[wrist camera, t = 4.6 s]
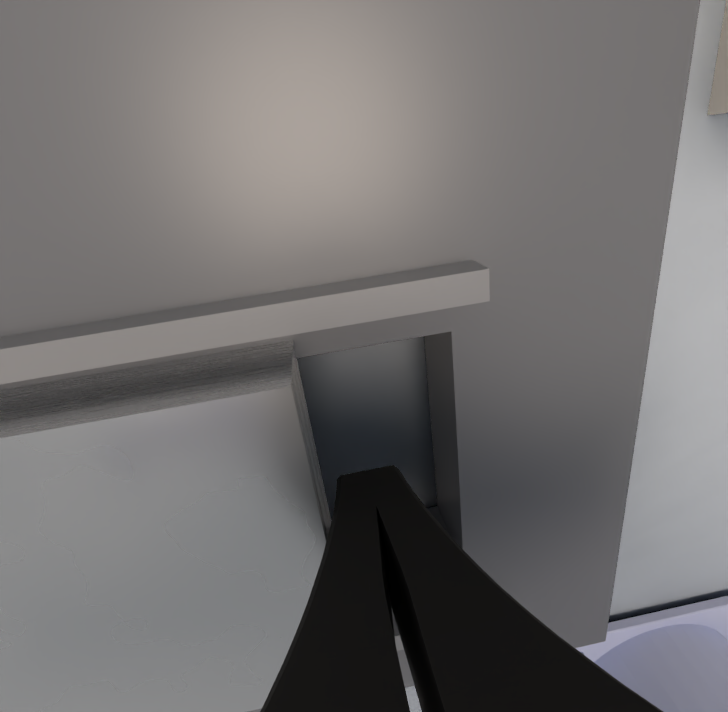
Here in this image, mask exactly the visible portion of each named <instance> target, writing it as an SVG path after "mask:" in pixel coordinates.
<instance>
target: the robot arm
mask: <svg viewBox="0 0 728 712" xmlns="http://www.w3.org/2000/svg"><path fill="white" fill-rule="evenodd" d="M391 607H392V609H391ZM392 610H393V614H394V617H395V621H396V624H397V627H398V631H399V634H400V638H401V641H402V644H403V648H404V651H405V654H406V658H407V661H408V665H409V668H410V671H411V675H412V678H413V681H414V685H415V688H416V692H417V695H418V698H419V702H420V706H421V710H422V712H728V596H723V597H719V598H715V599H710V600H706V601H702V602H697V603H693V604H688V605H684V606H680V607H675V608H671V609H666V610H662V611H658V612H653V613H649V614H644V615H640V616H636V617H631V618H627V619H622V620H618V621H614V622H609V623H608V628H607V635H606V641H604V642H600V643H596V644H591V645H587V646H583V647H578V648H574V647H573V646H571V645H570V644H569V643H567V642H566V641H565V640H563V639H562V638H561V637H559V636H558V635H557V634H556V633H554V632H553V631H552V630H551V629H550V628H548V627H547V626H546V625H545V624H543V623H542V622H541V621H540V620H539V619H537V618H536V617H535V616H534V615H533V614H531V613H530V612H529V611H528V610H527V609H525V608H524V607H523V606H522V605H521V604H520V603H519V602H517V601H516V600H515V599H514V598H513V597H512V596H511V595H510V594H508V593H507V592H506V591H505V590H504V589H503V588H502V587H501V586H500V585H498V584H497V583H496V582H495V581H494V580H493V579H492V578H491V577H490V576H489V575H488V574H487V573H486V572H485V571H484V570H483V569H482V568H481V567H480V566H479V565H478V564H477V563H476V562H475V561H474V560H473V559H472V558H471V557H470V556H469V555H468V554H467V553H466V552H465V551H464V550H463V549H462V548H461V547H460V546H459V545H458V544H457V543H456V542H455V541H454V539H453V538H452V537H451V536H450V535H449V534H448V533H447V532H446V530H445V529H444V528H443V527H442V526H441V525H440V524H439V522H438V521H437V520H436V519H435V518H434V517H433V516H432V514H431V513H430V512H429V511H428V509H427V508H426V507H425V506H424V504H423V503H422V502H421V501H420V499H419V498H418V497H417V495H416V494H415V493H414V491H413V490H412V489H411V487H410V486H409V484H408V483H407V482H406V480H405V478H404V477H403V475H402V474H401V472H400V470H399V469H398V468H397V467H395V466H394V465H392V466H386V467H381V468H376V469H371V470H366V471H360V472H355V473H350V474H345V475H341V476H340V477H339V478H338V480H337V490H336V499H335V506H334V511H333V516H332V521H331V526H330V530H329V534H328V537H327V541H326V545H325V549H324V553H323V557H322V560H321V563H320V566H319V569H318V572H317V575H316V578H315V581H314V585H313V588H312V591H311V594H310V597H309V600H308V602H307V605H306V608H305V610H304V613H303V616H302V618H301V621H300V624H299V626H298V629H297V631H296V634H295V636H294V638H293V641H292V643H291V646H290V648H289V650H288V653H287V655H286V657H285V660H284V662H283V664H282V666H281V668H280V671H279V673H278V675H277V677H276V679H275V681H274V684H273V686H272V688H271V690H270V692H269V694H268V697H267V699H266V701H265V703H264V705H263V707H262V709H261V711H260V712H410V710H409V705H408V701H407V696H406V691H405V686H404V682H403V677H402V672H401V668H400V663H399V658H398V654H397V649H396V643H395V635H394V626H393V617H392Z"/></svg>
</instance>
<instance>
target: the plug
mask: <svg viewBox="0 0 728 712" xmlns="http://www.w3.org/2000/svg"><path fill="white" fill-rule="evenodd" d="M723 113H728V0H726V6H725V12H724V18H723V24H722V30H721V36H720V42H719V48H718V54H717V60H716V66H715V72H714V78H713V84H712V90H711V95H710V101H709V107H708V113H707V115H715V114H723Z"/></svg>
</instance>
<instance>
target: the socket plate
mask: <svg viewBox="0 0 728 712" xmlns="http://www.w3.org/2000/svg"><path fill="white" fill-rule="evenodd" d="M699 5H700V0H0V390H4V389H10V388H16V387H21V386H27V385H33V384H39V383H45V382H51V381H56V380H62V379H68V378H74V377H80V376H86V375H91V374H97V373H103V372H109V371H115V370H121V369H127V368H132V367H138V366H144V365H150V364H156V363H162V362H167V361H173V360H179V359H185V358H191V357H197V356H202V355H208V354H214V353H220V352H226V351H232V350H237V349H243V348H249V347H255V346H261V345H267V344H272V343H278V342H284V341H290V340H293V343H294V348H295V353H296V357H297V358H302V357H307V356H313V355H319V354H325V353H330V352H336V351H342V350H347V349H353V348H359V347H365V346H370V345H376V344H382V343H388V342H393V341H399V340H405V339H411V338H416V337H422V336H424V343H425V355H426V368H427V380H428V393H429V405H430V418H431V430H432V443H433V455H434V467H435V480H436V492H437V505H438V506H436V507H431V508H427V509H428V511H429V512H430V513H431V514H432V516H433V517H434V518H435V519H436V520H437V521H438V522H439V524H440V525H441V526H442V527H443V528H444V529H445V530H446V532H447V533H448V534H449V535H450V536H451V537H452V538H453V539H454V541H455V542H456V543H457V544H458V545H459V546H460V547H461V548H462V549H463V550H464V551H465V552H466V553H467V554H468V555H469V556H470V557H471V558H472V559H473V560H474V561H475V562H476V563H477V564H478V565H479V566H480V567H481V568H482V569H483V570H484V571H485V572H486V573H487V574H488V575H489V576H490V577H491V578H492V579H493V580H494V581H495V582H496V583H497V584H498V585H500V586H501V587H502V588H503V589H504V590H505V591H506V592H507V593H508V594H510V595H511V596H512V597H513V598H514V599H515V600H516V601H517V602H519V603H520V604H521V605H522V606H523V607H524V608H525V609H527V610H528V611H529V612H530V613H531V614H533V615H534V616H535V617H536V618H537V619H539V620H540V621H541V622H542V623H543V624H545V625H546V626H547V627H548V628H550V629H551V630H552V631H553V632H554V633H556V634H557V635H558V636H559V637H561V638H562V639H563V640H565V641H566V642H567V643H569V644H570V645H571V646H573V647H574V648H578V647H583V646H587V645H591V644H596V643H600V642H604V641H606V635H607V628H608V621H609V614H610V607H611V601H612V594H613V587H614V580H615V574H616V567H617V560H618V553H619V546H620V540H621V533H622V526H623V519H624V513H625V506H626V499H627V492H628V486H629V479H630V472H631V465H632V458H633V452H634V445H635V438H636V431H637V425H638V418H639V411H640V404H641V397H642V391H643V384H644V377H645V370H646V364H647V357H648V350H649V343H650V337H651V330H652V323H653V316H654V309H655V303H656V296H657V289H658V282H659V276H660V269H661V262H662V255H663V249H664V242H665V235H666V228H667V221H668V215H669V208H670V201H671V194H672V188H673V181H674V174H675V167H676V160H677V154H678V147H679V140H680V133H681V127H682V120H683V113H684V106H685V100H686V93H687V86H688V79H689V72H690V66H691V59H692V52H693V45H694V39H695V32H696V25H697V18H698V11H699ZM391 609H392V607H391ZM392 617H393V626H394V635H395V643H396V649H397V654H398V658H399V663H400V668H401V672H402V677H403V682H404V686H405V687H409V686H414V681H413V678H412V675H411V671H410V668H409V665H408V661H407V658H406V654H405V651H404V648H403V644H402V641H401V638H400V634H399V631H398V627H397V624H396V621H395V617H394V614H393V610H392ZM261 709H262V708H261ZM261 709H256V710H252V711H248V712H260V711H261Z"/></svg>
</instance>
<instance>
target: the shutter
mask: <svg viewBox="0 0 728 712" xmlns="http://www.w3.org/2000/svg"><path fill="white" fill-rule="evenodd" d="M330 526H331V517H330V512H329V508H328V503H327V498H326V493H325V489H324V484H323V479H322V475H321V470H320V465H319V461H318V456H317V451H316V447H315V442H314V437H313V432H312V428H311V423H310V418H309V414H308V409H307V404H306V400H305V395H304V390H303V386H302V381H301V376H300V372H299V367H298V362H297V357H296V353H295V348H294V343H293V340H290V341H284V342H278V343H272V344H267V345H261V346H255V347H249V348H243V349H237V350H232V351H226V352H220V353H214V354H208V355H202V356H197V357H191V358H185V359H179V360H173V361H167V362H162V363H156V364H150V365H144V366H138V367H132V368H127V369H121V370H115V371H109V372H103V373H97V374H91V375H86V376H80V377H74V378H68V379H62V380H56V381H51V382H45V383H39V384H33V385H27V386H21V387H16V388H10V389H4V390H0V712H248V711H252V710H256V709H261V708H262V707H263V705H264V703H265V701H266V699H267V697H268V694H269V692H270V690H271V688H272V686H273V684H274V681H275V679H276V677H277V675H278V673H279V671H280V668H281V666H282V664H283V662H284V660H285V657H286V655H287V653H288V650H289V648H290V646H291V643H292V641H293V638H294V636H295V634H296V631H297V629H298V626H299V624H300V621H301V618H302V616H303V613H304V610H305V608H306V605H307V602H308V600H309V597H310V594H311V591H312V588H313V585H314V581H315V578H316V575H317V572H318V569H319V566H320V563H321V560H322V557H323V553H324V549H325V545H326V541H327V537H328V534H329V530H330Z"/></svg>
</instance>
